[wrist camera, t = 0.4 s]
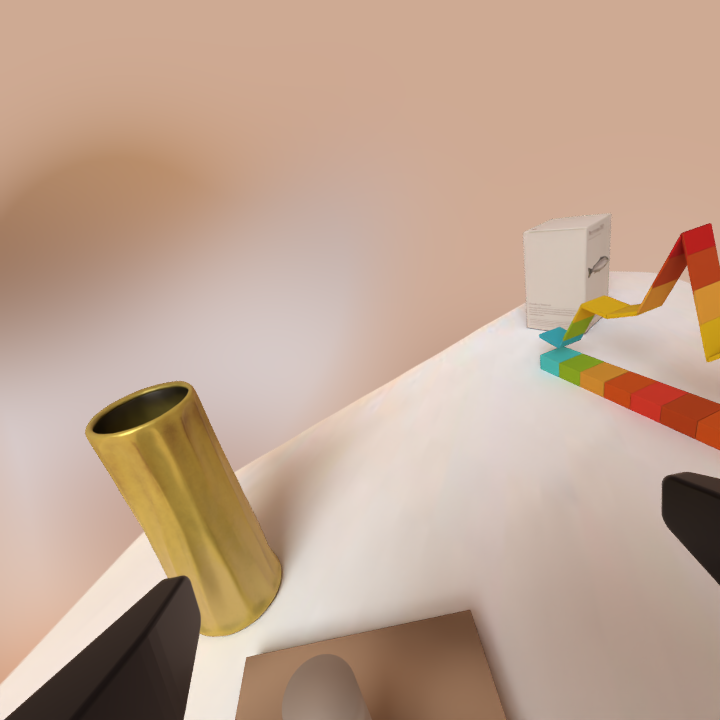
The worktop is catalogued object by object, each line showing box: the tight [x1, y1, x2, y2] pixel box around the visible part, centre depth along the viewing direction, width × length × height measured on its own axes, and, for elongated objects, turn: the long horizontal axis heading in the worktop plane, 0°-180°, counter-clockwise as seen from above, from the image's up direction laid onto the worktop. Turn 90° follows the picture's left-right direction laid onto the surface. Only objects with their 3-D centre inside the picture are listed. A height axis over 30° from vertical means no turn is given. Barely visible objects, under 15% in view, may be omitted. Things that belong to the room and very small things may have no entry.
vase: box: [85, 381, 282, 637], centre depth 23 cm, size 6×6×14 cm
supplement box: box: [523, 214, 611, 334], centre depth 49 cm, size 7×7×13 cm
